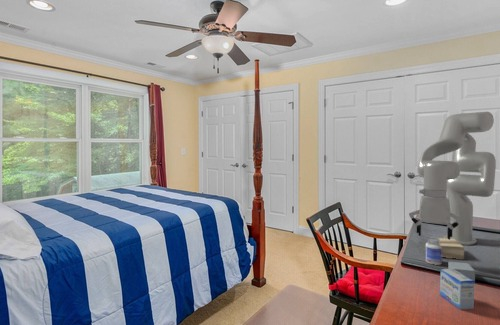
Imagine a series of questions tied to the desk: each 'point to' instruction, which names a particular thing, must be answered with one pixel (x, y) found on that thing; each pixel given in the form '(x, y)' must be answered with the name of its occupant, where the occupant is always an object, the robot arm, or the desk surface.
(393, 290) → the desk surface
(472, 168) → the robot arm
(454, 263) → the grey block
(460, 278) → the medicine box
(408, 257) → the desk surface
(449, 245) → the oak block
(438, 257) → the pill bottle
